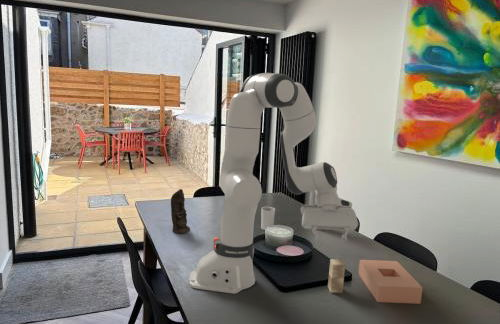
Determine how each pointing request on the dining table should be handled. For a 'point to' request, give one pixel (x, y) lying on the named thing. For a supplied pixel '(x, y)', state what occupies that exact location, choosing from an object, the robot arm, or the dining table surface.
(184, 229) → the statue
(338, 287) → the peg
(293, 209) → the dining table surface
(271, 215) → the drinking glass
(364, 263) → the socket
